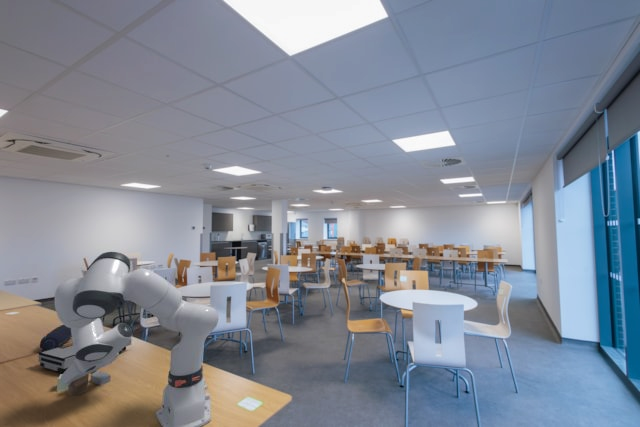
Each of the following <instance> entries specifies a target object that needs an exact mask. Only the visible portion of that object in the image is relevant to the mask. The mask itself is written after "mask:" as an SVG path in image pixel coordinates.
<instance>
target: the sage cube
mask: <svg viewBox="0 0 640 427" xmlns="http://www.w3.org/2000/svg"><path fill="white" fill-rule="evenodd" d="M62 374H63V373H62ZM62 374H61V373H60V374H59V376H58V378H57V383H56V385H57V386H56V392H61V391H64V390H68V386H67V384H64V383H63V381H62V380H61V376H62Z"/></svg>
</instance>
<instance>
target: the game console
mask: <svg viewBox="0 0 640 427" xmlns="http://www.w3.org/2000/svg"><path fill="white" fill-rule="evenodd" d="M132 341H133V339H132V338H131V339H130V341H129V342H128V343H127V345H126V346H125V347H124V348H123V349H122V350H121V351H120V352H118V353H119V355H121V354H122V352H123V351H126V349H127V347H129V346H131V345H132ZM75 359H76V357H75V353H74V347H73V344H71V345H67V346H63V347H59V348H57V347H55V348H52V349H48V350H45V351H44V350H42V351H39V352H38V359H37V360H38V361H37V362H38V363H39V366H40V367H43V368H45V369H49V370H52V371H56V372H59V373H62V374H63V373H64V372H65V371H66V370H67V369H68V368H69V367H70V366H71V365H72V364H73V363H75V361H74V360H75Z"/></svg>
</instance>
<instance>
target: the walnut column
mask: <svg viewBox="0 0 640 427" xmlns="http://www.w3.org/2000/svg"><path fill="white" fill-rule="evenodd" d="M89 375H90V373H89V374H87V375H85V376H83V377H81V378H79V379H77V380H74V382H73V383H72V384H70V385H68V389H67V395H69V396H73V397H74V396H75V397H76V396H77V397H78V396H79V395H81V394H82V393H85V392H87V391H88V389H89V388H88V387H89Z"/></svg>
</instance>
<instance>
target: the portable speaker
mask: <svg viewBox="0 0 640 427" xmlns="http://www.w3.org/2000/svg"><path fill="white" fill-rule="evenodd" d="M70 339H72V334H71V331H70V328H68V327H66V326H65V325H64V324H62V325H59V326H57V327H55V328H54V329H53V330H51V331H49V332H48V333H46V335H44V336H43V337H42V338H41V339H40V341H39V342H40V343H39V347H40V349H41V350H42V351H45V350H48V349H52V348H55V347H57V348H62V346H63V345H64V344H65V343H66V342H68V341H69V340H70Z"/></svg>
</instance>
